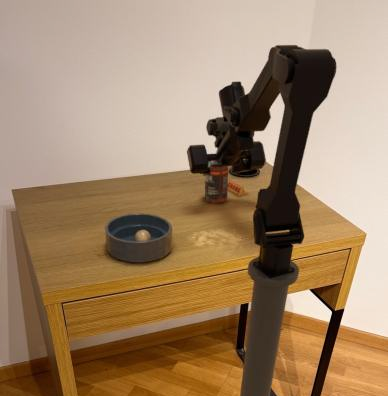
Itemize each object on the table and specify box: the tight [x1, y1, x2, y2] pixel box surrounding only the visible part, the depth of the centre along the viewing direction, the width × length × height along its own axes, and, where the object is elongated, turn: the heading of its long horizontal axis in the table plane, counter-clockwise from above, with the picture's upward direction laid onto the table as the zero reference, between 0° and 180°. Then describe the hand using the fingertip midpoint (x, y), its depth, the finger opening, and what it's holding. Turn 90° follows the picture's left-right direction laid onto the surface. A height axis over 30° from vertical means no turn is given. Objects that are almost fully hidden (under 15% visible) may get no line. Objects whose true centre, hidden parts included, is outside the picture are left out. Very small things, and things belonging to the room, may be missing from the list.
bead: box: [135, 230, 151, 242], centre depth 107 cm, size 4×4×4 cm
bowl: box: [104, 212, 173, 263], centre depth 107 cm, size 14×14×5 cm
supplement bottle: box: [204, 164, 229, 204], centre depth 127 cm, size 6×6×11 cm
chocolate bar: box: [227, 178, 247, 197], centre depth 137 cm, size 3×12×2 cm, turn 33°
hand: (217, 173), depth 127 cm, fingers open, 7 cm apart
